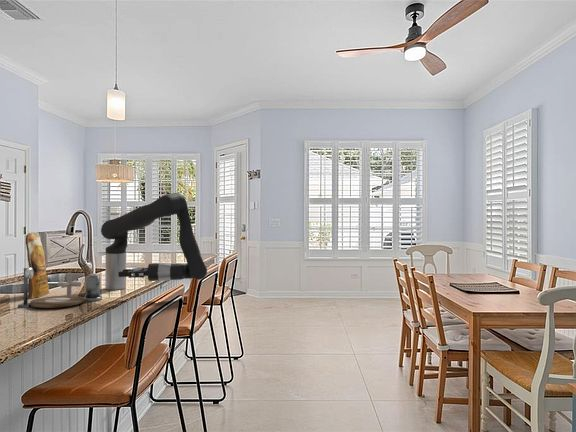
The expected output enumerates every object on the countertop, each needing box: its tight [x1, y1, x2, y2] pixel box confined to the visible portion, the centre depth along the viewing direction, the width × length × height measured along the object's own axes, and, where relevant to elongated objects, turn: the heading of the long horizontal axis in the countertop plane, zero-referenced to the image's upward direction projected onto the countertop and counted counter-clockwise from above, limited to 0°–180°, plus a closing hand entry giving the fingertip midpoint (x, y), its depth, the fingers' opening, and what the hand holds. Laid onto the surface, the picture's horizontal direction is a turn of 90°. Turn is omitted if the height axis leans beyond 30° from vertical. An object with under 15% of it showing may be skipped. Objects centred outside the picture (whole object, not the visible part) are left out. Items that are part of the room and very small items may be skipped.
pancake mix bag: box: [25, 232, 50, 299], centre depth 199 cm, size 7×19×28 cm, turn 8°
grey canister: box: [83, 273, 103, 303], centre depth 190 cm, size 7×7×11 cm
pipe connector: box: [57, 272, 82, 296], centre depth 199 cm, size 10×10×10 cm
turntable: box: [29, 295, 85, 309], centre depth 179 cm, size 19×19×2 cm
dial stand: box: [17, 267, 33, 309], centre depth 175 cm, size 4×4×15 cm
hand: (120, 273), depth 191 cm, fingers open, 8 cm apart
